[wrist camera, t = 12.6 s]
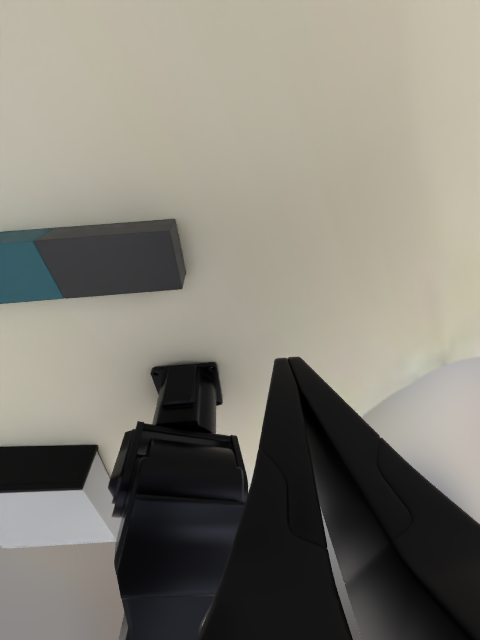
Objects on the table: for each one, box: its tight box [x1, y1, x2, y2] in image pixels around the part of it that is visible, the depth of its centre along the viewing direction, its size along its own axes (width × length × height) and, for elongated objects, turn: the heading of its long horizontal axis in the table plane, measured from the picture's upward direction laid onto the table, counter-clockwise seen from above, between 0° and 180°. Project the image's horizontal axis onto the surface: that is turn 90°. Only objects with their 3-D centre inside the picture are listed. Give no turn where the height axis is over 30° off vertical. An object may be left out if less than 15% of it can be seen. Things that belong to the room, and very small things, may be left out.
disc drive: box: [0, 445, 122, 548], centre depth 37 cm, size 18×22×5 cm
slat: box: [0, 219, 186, 304], centre depth 17 cm, size 16×4×2 cm, turn 93°
